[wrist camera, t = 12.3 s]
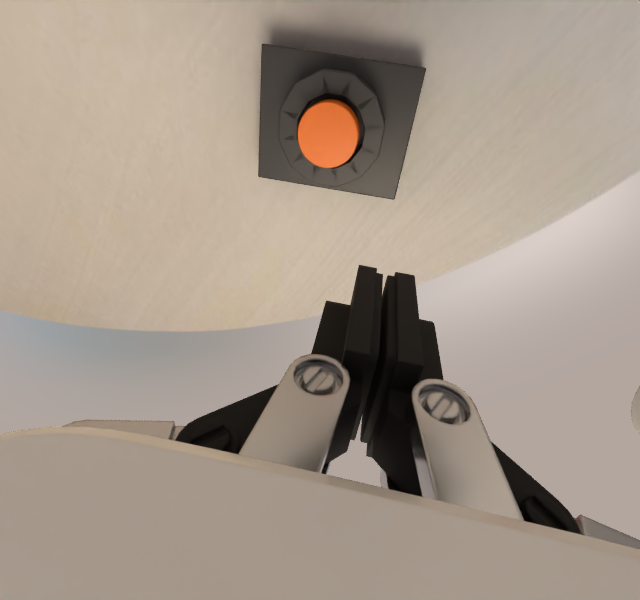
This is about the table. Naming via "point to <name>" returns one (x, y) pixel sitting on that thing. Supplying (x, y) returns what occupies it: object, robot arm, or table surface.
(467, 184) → the table surface
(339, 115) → the button
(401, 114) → the block
